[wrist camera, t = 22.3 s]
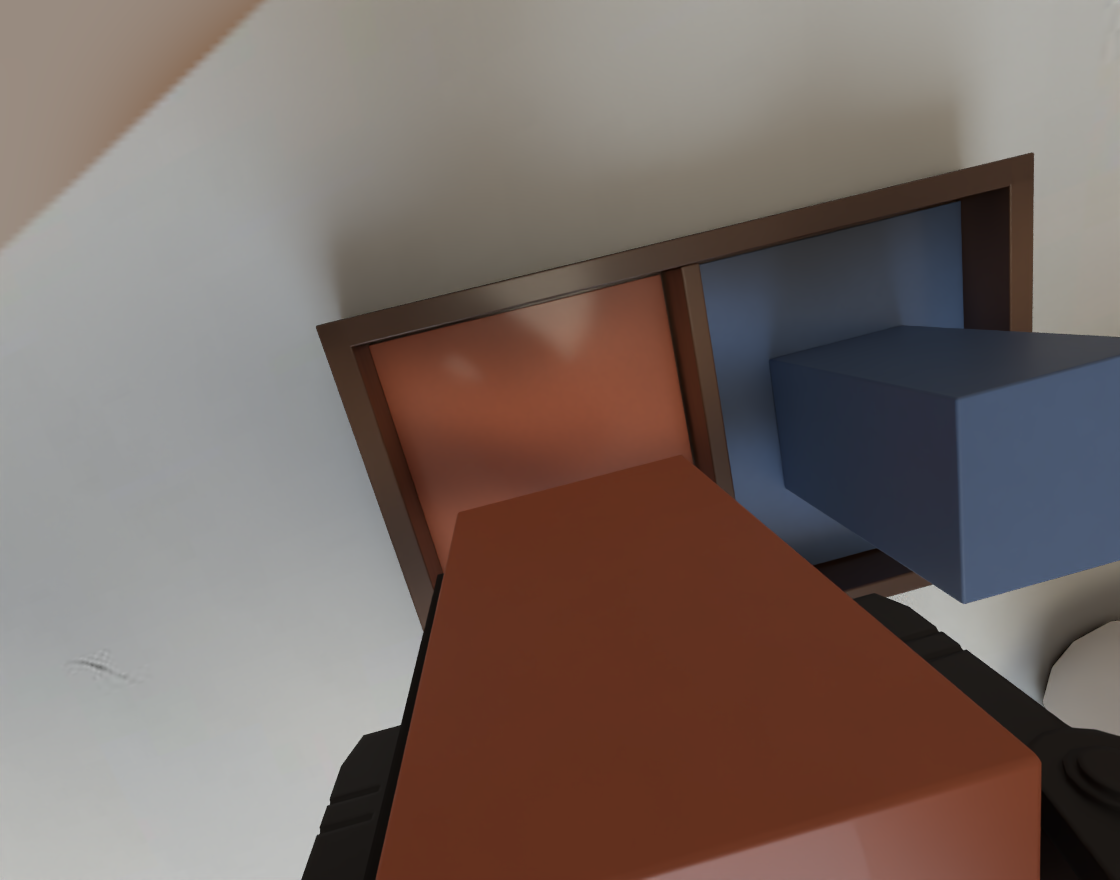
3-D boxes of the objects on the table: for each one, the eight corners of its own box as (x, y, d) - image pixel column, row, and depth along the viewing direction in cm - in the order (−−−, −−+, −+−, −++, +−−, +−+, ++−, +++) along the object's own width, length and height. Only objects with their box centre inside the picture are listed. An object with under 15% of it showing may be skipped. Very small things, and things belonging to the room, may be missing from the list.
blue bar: (768, 359, 19) (956, 398, 11) (901, 324, 19) (1180, 339, 11) (784, 488, 20) (963, 605, 12) (909, 455, 20) (1162, 549, 12)
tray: (341, 322, 18) (315, 325, 15) (962, 172, 18) (1034, 151, 16) (459, 669, 21) (453, 718, 19) (971, 529, 22) (1030, 558, 20)
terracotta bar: (456, 511, 11) (353, 960, 4) (681, 453, 11) (1044, 757, 4) (515, 701, 13) (533, 1327, 5) (716, 646, 13) (1039, 1164, 5)
